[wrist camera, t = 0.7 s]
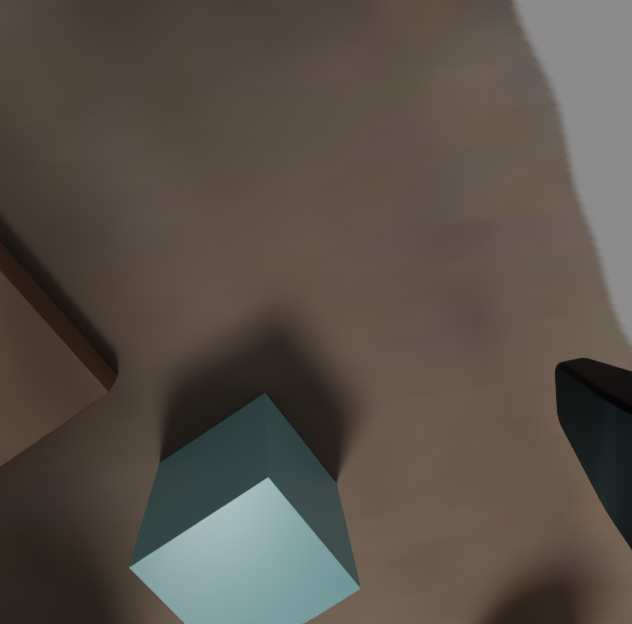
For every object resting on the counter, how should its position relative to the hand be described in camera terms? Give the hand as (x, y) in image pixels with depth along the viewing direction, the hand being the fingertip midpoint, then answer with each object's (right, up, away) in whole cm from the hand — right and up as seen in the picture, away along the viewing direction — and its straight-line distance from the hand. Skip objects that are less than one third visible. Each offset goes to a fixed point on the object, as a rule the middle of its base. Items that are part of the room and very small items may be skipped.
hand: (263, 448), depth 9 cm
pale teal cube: (-2, -5, +15) cm, 16 cm away
